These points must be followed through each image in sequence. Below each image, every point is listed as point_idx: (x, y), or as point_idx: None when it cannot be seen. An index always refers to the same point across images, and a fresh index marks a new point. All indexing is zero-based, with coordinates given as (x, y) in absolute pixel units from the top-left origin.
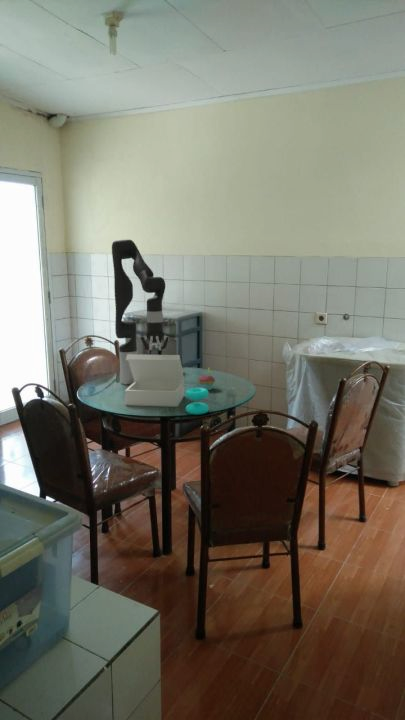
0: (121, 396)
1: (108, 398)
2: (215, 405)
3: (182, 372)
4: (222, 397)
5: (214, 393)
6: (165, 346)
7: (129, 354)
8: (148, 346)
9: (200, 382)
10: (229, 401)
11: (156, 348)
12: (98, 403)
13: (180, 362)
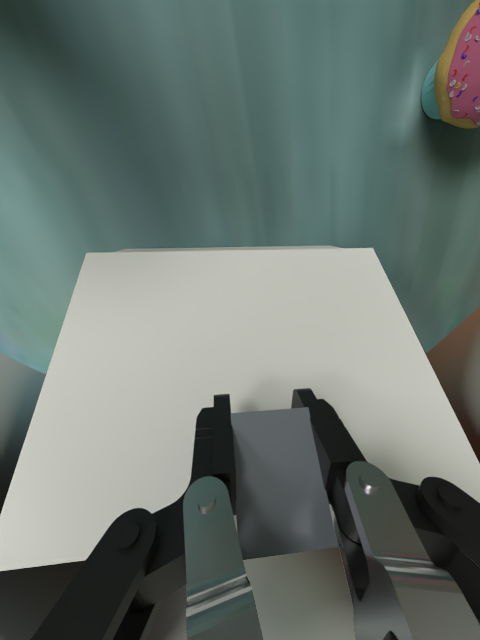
0: (72, 273)
1: (36, 307)
2: (423, 334)
3: (400, 314)
4: (470, 242)
5: (457, 181)
6: (465, 569)
7: (11, 568)
8: (169, 591)
9: (445, 115)
10: (476, 289)
11: (308, 548)
12: (43, 367)
13: (447, 415)
